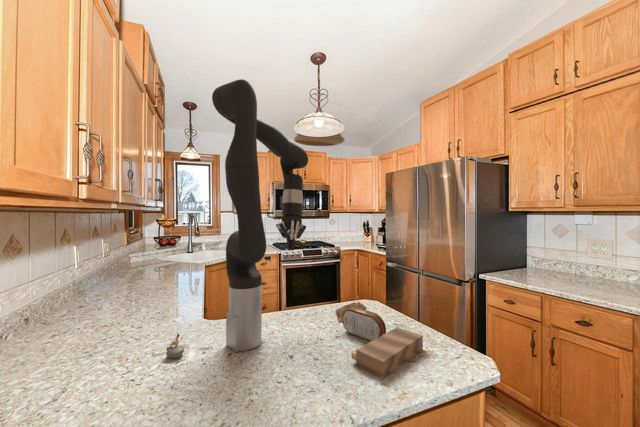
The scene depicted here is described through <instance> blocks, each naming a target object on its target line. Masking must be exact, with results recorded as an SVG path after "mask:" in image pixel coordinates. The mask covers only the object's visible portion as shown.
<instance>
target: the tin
mask: <svg viewBox="0 0 640 427" xmlns="http://www.w3.org/2000/svg"><path fill="white" fill-rule="evenodd" d="M342 321H343V323H342V324H343V327H344V329H345V330H346V332H347V333H349V334H350V335H353V336H356V337H357V338H361V339H362V340H366V341H369V342H371V341H373V340H375V339H377V338H378V337H380V336H382V335H384V334H386V333H387V327H386V323H385V322H384V319H383V318H382V317H381V316H380V315H379V314H378V313H376V312H374V311H370V310H367V309H365V310H364V309H361V308H357V307H350V308H348V309H347V310H345V311H344V312H343V315H342Z"/></svg>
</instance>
